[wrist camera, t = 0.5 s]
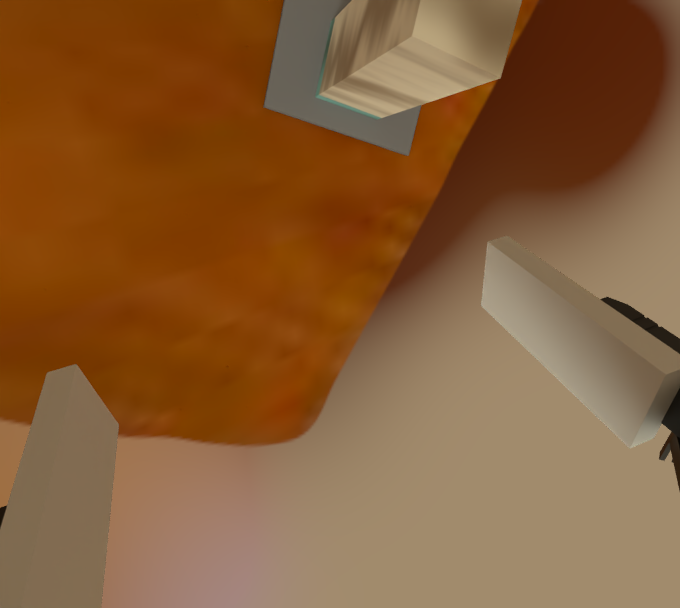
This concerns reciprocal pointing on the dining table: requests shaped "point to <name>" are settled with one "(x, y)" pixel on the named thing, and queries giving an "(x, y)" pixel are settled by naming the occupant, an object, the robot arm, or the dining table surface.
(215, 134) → the dining table surface
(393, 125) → the rubber mat
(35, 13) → the dining table surface
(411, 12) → the birch block
